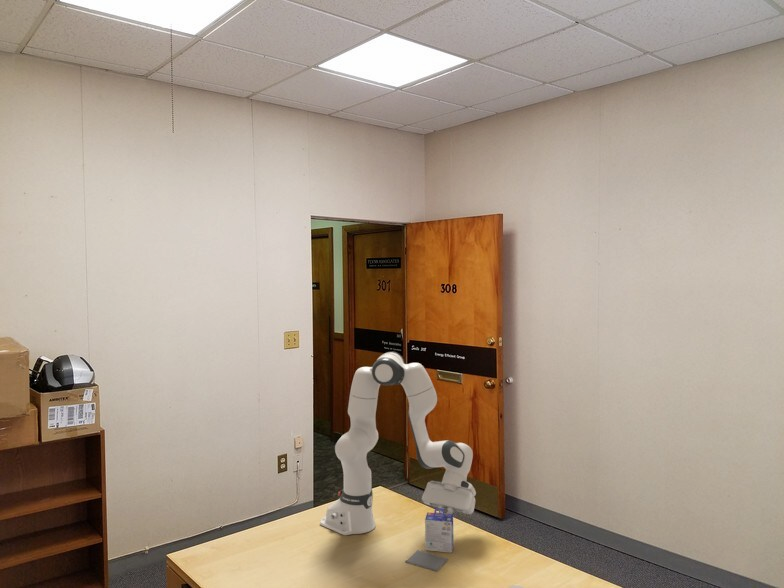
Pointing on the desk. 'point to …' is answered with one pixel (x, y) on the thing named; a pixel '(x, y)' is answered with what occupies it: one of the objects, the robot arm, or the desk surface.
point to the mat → (427, 560)
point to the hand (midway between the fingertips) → (442, 519)
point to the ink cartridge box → (439, 531)
